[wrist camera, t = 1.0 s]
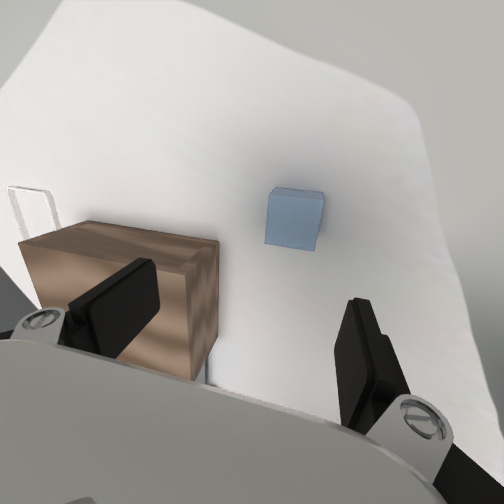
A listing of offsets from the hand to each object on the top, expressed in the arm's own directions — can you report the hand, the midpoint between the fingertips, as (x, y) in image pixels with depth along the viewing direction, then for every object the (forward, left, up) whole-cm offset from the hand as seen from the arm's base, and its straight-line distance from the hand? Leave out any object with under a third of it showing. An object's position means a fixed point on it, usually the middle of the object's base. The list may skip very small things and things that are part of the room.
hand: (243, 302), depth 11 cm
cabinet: (-13, +18, -18) cm, 28 cm away
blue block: (0, -1, -18) cm, 18 cm away
